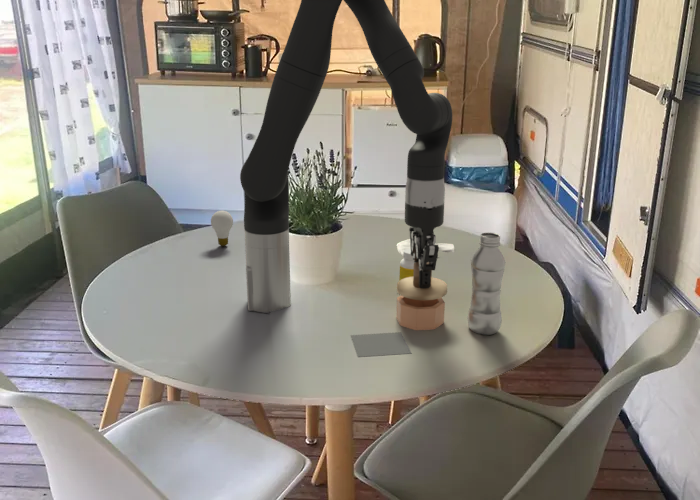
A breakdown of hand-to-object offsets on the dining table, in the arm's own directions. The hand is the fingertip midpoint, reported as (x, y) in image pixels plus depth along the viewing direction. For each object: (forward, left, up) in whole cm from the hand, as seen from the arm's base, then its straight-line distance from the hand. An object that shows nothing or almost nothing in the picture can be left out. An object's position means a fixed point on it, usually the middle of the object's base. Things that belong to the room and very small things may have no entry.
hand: (421, 283), depth 136 cm
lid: (0, 0, -2) cm, 2 cm away
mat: (-10, -10, -9) cm, 16 cm away
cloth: (+13, +43, -9) cm, 46 cm away
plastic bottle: (+11, -6, -9) cm, 16 cm away
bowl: (0, 0, -9) cm, 9 cm away
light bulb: (-41, +55, -9) cm, 70 cm away
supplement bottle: (+2, +16, -9) cm, 19 cm away
